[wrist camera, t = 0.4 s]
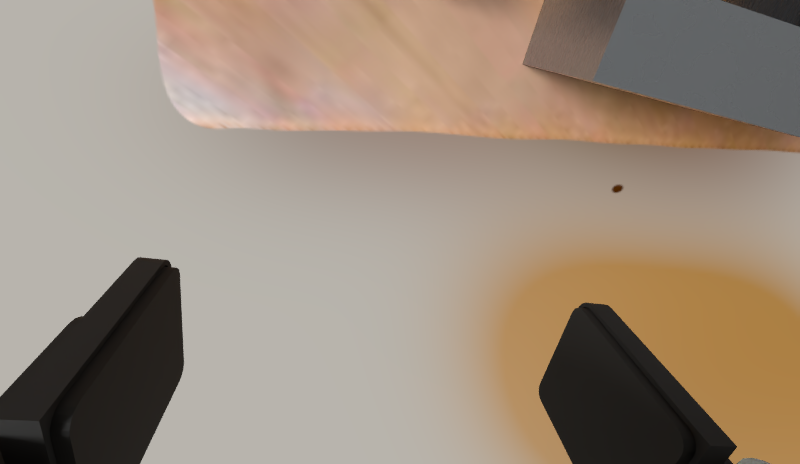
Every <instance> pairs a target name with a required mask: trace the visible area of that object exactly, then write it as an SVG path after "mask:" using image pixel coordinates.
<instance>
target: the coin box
mask: <svg viewBox="0 0 800 464" xmlns="http://www.w3.org/2000/svg"><path fill="white" fill-rule="evenodd" d="M523 64H524V65H528V66H531V67H535V68H539V69H543V70H546V71H550V72H554V73H557V74H561V75H565V76H569V77H572V78H576V79H580V80H583V81H587V82H591V83H595V84H598V85H602V86H606V87H609V88H613V89H617V90H621V91H624V92H628V93H632V94H636V95H639V96H643V97H647V98H650V99H654V100H658V101H662V102H665V103H669V104H673V105H676V106H680V107H684V108H688V109H691V110H695V111H699V112H703V113H707V114H711V115H715V116H719V117H723V118H726V119H730V120H734V121H738V122H742V123H746V124H750V125H754V126H758V127H762V128H766V129H770V130H773V131H777V132H781V133H785V134H789V135H793V136H797V137H800V0H727V1H726V2H724V1H721V0H544V3H543V6H542V9H541V12H540V15H539V18H538V20H537V23H536V26H535V29H534V32H533V35H532V38H531V41H530V44H529V47H528V50H527V53H526V56H525V59H524V62H523Z"/></svg>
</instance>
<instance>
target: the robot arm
mask: <svg viewBox="0 0 800 464" xmlns="http://www.w3.org/2000/svg"><path fill="white" fill-rule="evenodd" d="M180 291H181V290H180V273H179V269H178V268H172V267H171V264H170V262H169V261H168V260H161V259H160V260H159V259H151V258H141V257H140V258H137V259H136V260H134V261H133V263H132V264H131V265H130V266H129V267H128V268H127V269H126V270H125V271H124V272H123V274H122V275H121V276H120V277H119V278H118V279H117V280H116V281H115V282H114V283H113V285H112V286H111V287H110V288H109V289H108V290H107V291H106V292H105V293H104V295H103V296H102V297H101V298H100V299H99V300H98V301H97V302H96V303H95V304H94V305H93V307H92V308H91V309H90V310H89V311H88V312H87V313H86V314H85V315H84V316H83V317H82V316H81V317H78V318H75V319H74V320H73V321H72V322H70V323H69V324H68V325H67V326H66V327H65V328H64V329H63V330H62V332H61V333H60V334H59V335H58V336H57V337H56V338H55V339H54V340H53V341H52V342H51V343H50V344H49V346H48V347H47V348H46V349H45V350H44V351H43V352H42V353H41V354H40V355H39V356H38V357H37V358H36V359H35V360H34V361H33V363H32V364H31V365H30V366H29V367H28V368H27V369H26V370H25V371H24V372H23V373H22V374H21V375H20V376H19V377H18V379H17V380H16V381H15V382H14V383H13V384H12V385H11V386H10V387H9V388H8V389H7V390H6V391H5V392H4V394H3V395H2V396H1V397H0V464H140V462H141V460H142V458H143V456H144V454H145V452H146V450H147V448H148V446H149V443H150V441H151V439H152V437H153V435H154V433H155V431H156V429H157V427H158V425H159V422H160V420H161V418H162V416H163V414H164V412H165V410H166V408H167V406H168V404H169V402H170V400H171V398H172V395H173V393H174V391H175V389H176V387H177V385H178V383H179V381H180V378H181V375H182V372H183V366H184V357H183V334H182V312H181V292H180ZM539 396H540V399H541V402H542V404H543V406H544V408H545V409H546V411H547V414H548V415H549V417H550V420H551V421H552V423H553V426H554V428H555V429H556V431H557V433H558V435H559V437H560V439H561V441H562V443H563V445H564V447H565V449H566V451H567V453H568V455H569V457H570V459H571V461H572V463H573V464H733V463H732V462H731V461H730V460H729V459H728V458H729V456H730V455H731V454H732V453H733V451H734V450H735V449H736V447H737V446H736V445H735V444H734V443H733V442H732V441H731V440H730V438H729V437H728V436H727V435H726V434H725V433H724V432H723V431H722V430H721V428H720V427H719V426H718V425H717V424H716V423H715V422H714V421H713V420H712V419H711V417H710V416H709V415H708V414H707V413H706V412H705V411H704V410H703V409H702V408H701V407H700V405H699V404H698V403H697V402H696V401H695V400H694V399H693V398H692V397H691V396H690V394H689V393H688V392H687V391H686V390H685V389H684V388H683V387H682V386H681V385H680V383H679V382H678V381H677V380H676V379H675V378H674V377H673V376H672V375H671V373H669V371H668V370H667V369H666V368H665V367H664V366H663V365H662V364H661V362H659V360H658V359H657V358H656V357H655V356H654V355H653V354H652V352H651V351H649V349H648V348H647V347H646V346H645V345H644V344H643V343H642V341H641V340H640V339H639V338H638V337H637V336H636V335H635V334H634V333H633V332H632V331H631V329H629V327H628V326H627V325H626V324H625V323H624V322H623V321H622V319H621V318H620V317H619V316H618V315H617V314H616V313H615V312H614V311H613V310H612V308H610V307H609V306H608V305H603V304H593V303H583V304H581V305H580V306H579V308H576V309H575V310H574V311H573V312H572V314H571V316H570V319H569V321H568V323H567V326H566V328H565V330H564V332H563V334H562V336H561V339H560V341H559V343H558V345H557V347H556V350H555V352H554V354H553V356H552V359H551V361H550V363H549V365H548V367H547V370H546V372H545V374H544V376H543V379H542V381H541V383H540V386H539ZM737 464H770V463H768V462H765V461H763V460H758V459H754V458H746V459H742V460H741V461H739V462H738V463H737Z"/></svg>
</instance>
